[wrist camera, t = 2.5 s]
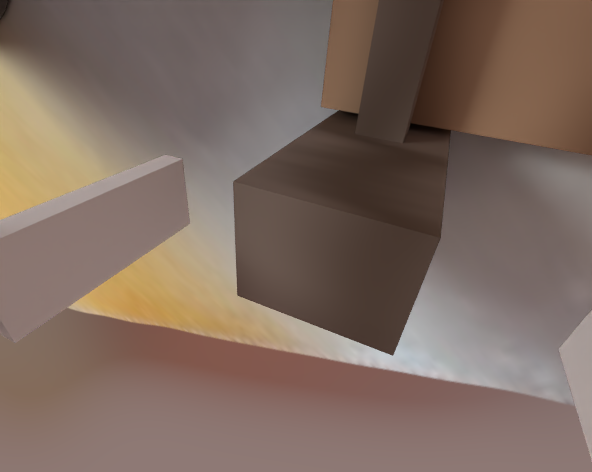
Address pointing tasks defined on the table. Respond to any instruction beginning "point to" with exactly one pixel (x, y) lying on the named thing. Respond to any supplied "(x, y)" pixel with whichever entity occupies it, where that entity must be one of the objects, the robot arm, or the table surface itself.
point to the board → (484, 69)
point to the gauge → (352, 199)
